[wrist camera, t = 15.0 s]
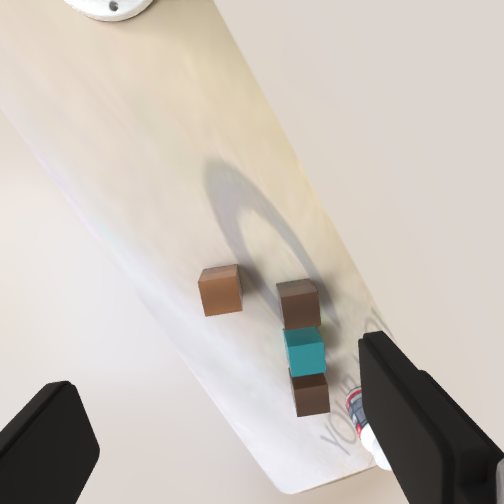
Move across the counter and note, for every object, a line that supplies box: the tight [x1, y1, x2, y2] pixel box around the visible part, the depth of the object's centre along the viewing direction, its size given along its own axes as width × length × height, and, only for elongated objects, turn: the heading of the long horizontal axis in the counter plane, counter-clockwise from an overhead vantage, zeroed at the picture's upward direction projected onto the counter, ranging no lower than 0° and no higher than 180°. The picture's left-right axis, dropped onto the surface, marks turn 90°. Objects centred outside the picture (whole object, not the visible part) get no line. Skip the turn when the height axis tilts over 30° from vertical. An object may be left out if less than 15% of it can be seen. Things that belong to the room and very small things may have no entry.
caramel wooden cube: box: [198, 264, 243, 317], centre depth 34 cm, size 4×4×4 cm
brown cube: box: [288, 367, 330, 417], centre depth 38 cm, size 4×4×4 cm
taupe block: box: [276, 279, 321, 331], centre depth 35 cm, size 4×4×4 cm
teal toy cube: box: [283, 326, 326, 377], centre depth 36 cm, size 4×4×4 cm
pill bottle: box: [345, 387, 392, 470], centre depth 37 cm, size 5×5×9 cm
